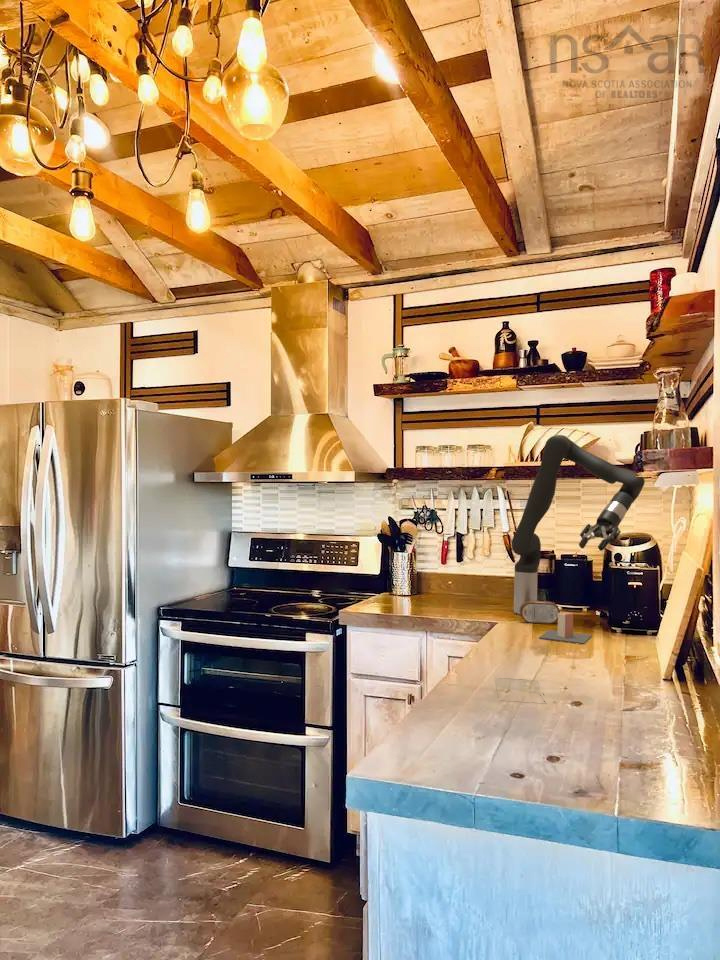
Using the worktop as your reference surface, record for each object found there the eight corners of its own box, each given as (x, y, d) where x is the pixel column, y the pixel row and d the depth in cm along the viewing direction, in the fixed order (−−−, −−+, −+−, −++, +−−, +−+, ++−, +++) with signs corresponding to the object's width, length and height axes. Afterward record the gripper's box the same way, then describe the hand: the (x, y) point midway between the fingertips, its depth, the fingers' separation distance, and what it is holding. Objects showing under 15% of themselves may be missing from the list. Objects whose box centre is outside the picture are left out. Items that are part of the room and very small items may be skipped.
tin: (558, 623, 264) (559, 601, 264) (560, 624, 261) (561, 602, 261) (519, 621, 266) (519, 599, 266) (520, 623, 262) (520, 601, 262)
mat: (548, 631, 249) (548, 629, 249) (591, 636, 242) (591, 635, 242) (539, 638, 236) (539, 637, 236) (583, 644, 229) (584, 643, 229)
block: (557, 636, 239) (558, 613, 239) (566, 634, 241) (566, 612, 241) (564, 637, 237) (564, 614, 237) (572, 636, 239) (573, 613, 239)
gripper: (591, 508, 258) (569, 539, 252) (623, 510, 246) (601, 542, 240) (600, 522, 261) (579, 553, 255) (632, 524, 249) (611, 557, 243)
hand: (590, 548), depth 248 cm, fingers open, 8 cm apart
